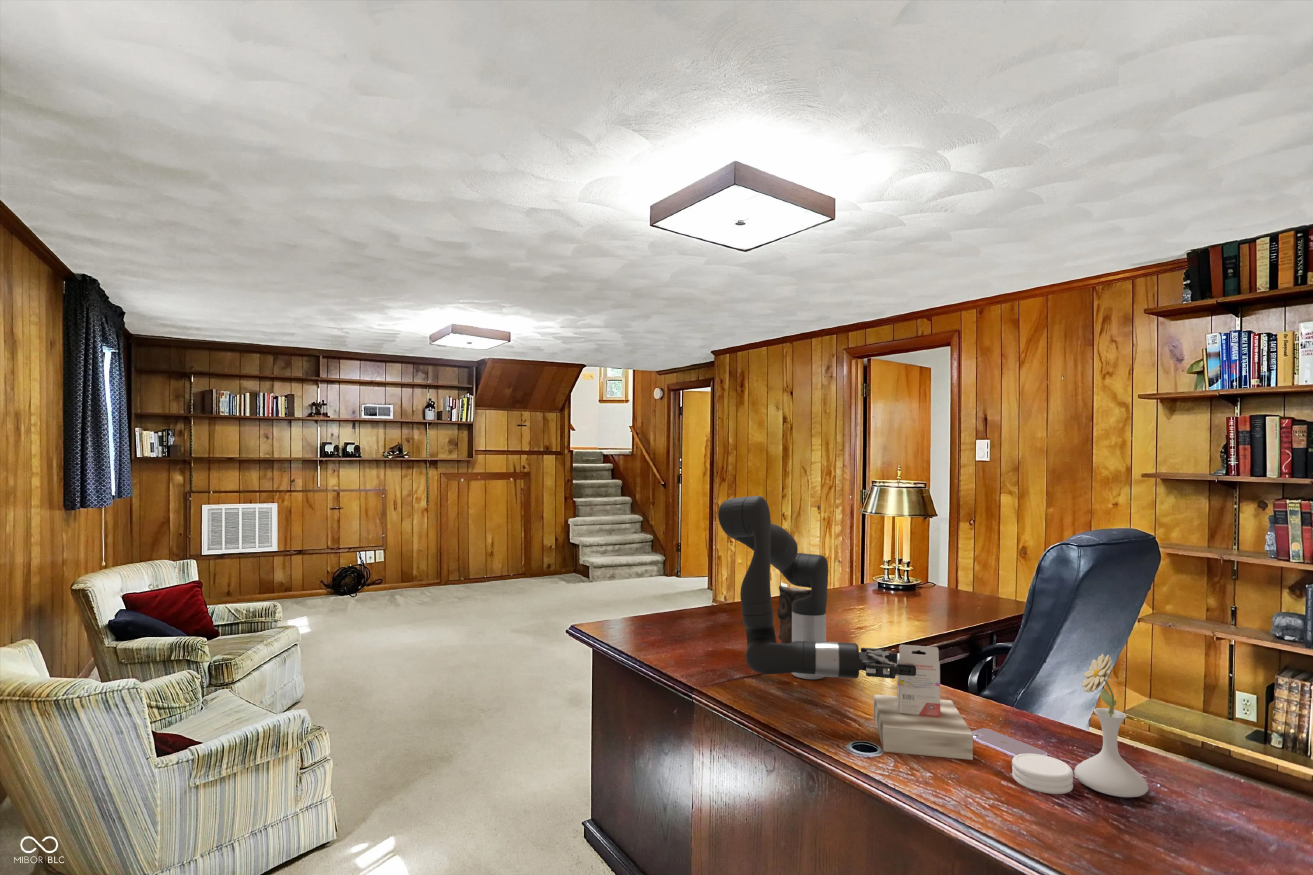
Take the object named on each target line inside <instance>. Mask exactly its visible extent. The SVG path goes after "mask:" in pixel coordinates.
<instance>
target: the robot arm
mask: <svg viewBox="0 0 1313 875" xmlns="http://www.w3.org/2000/svg"><path fill="white" fill-rule="evenodd" d="M717 519H718V522H719V525H720V527H721V529H722V531H723V532H724V533H725V534H726V535H727V537H730V538H732V539H733V540H735V541H737V542H739V543H741V544H743V545H745V546H746V547H748V548H749V549H750V550H752V551H753V555H752V557H751V561H750V563H749V566H748V568H747V570H746V573H745V575H744V577H743V579H742V582H741V586H740V595H739V596H740V606H741V614H742V621H743V625H744V626H745V632H746V645H747V646H746V652H745V661H746V664H747V666H748V667H749V668H750V669H751V670H752V671H754V672H756V673H759V674H762V675H779V674H780V675H781V674H783V675H784V674H791V675H793V676H794V677H797V678H801V679H805V680H820V679H824V678H825V677H829V678H842V679H843V678H844V679H854V680H855V679H858V678H859V676H860V671H863V672H864V671H865V676H866V677H872V678H883V679H892V680H893V679H896V677H897V674H898V675H906V676H915V675H916V667H915V665H910V664H897V654H898V653H899V652H892V651H890V650H888V648H874V647H860V648H859V646H858V644H857V643H856V642H841V641H827V603H828V585H829V584H828V583H829V564H828V563H829V562H828V559H827V557H825V555H821V554H813V553H812V554H811V553H802V552H799V550H798V549H799V547H798V544H797V541H796V539H795V538H794V537H793V535H792V534H790V533H789V532H788V531H787V530H786V529H784V528H783V527H781V526H780V525H778V524H775V523H773V522H772V520H771V511H770V507H769V505H768V502H767V499H765V498H764V497H763V496H761V495H750V496H741V497H732V498H729V499H726V500H724V501H723V502H722V503H721V504H720V505H719V508H718V511H717ZM771 565H772V567H774V568H775V569H777V570H778V571H779V572H780V573H781V574H782V576H783V577H784V578H785V579H786V581H788V583H790V585H793V586H795V587H802V588H808V589H810V590H811V594H810V595H809V596H807V597H804V598H800V599H796V600H794V601H793V603H792V642H791V643H788V644H786V643H782V642H778V641H777V637H776V636H777V635H776V631H775V626H774V612H773V611H774V610H773V602H772V593H771V575H770V574H771V573H770V572H771ZM859 649H860V650H859Z"/></svg>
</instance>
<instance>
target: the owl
mask: <svg viewBox="0 0 1313 875" xmlns="http://www.w3.org/2000/svg"><path fill="white" fill-rule="evenodd" d="M778 590H779V599H778V609H777V612H776V613H777V617H778V621H779V633H778V639H779V640H780V643H786V644H788V643H791V642H792V603H793V601H794V600H796V599H800V598H804V597H807V596H809V595H810V594H811V589H807V588H799V587H787V586H783V585H781V584H780V585H778Z"/></svg>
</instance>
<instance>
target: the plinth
mask: <svg viewBox="0 0 1313 875" xmlns="http://www.w3.org/2000/svg"><path fill="white" fill-rule="evenodd" d="M873 719H874V722H875V726H876V728H877V732H878V736H879V739H880V742H881V747H882V749H883V752H885V753H894V754H895V753H897V754H907V755H916V756H917V755H919V756H926V757H927V756H928V757H939V758H949V759H960V760H961V759H962V760H971V761H973V759H974V757H973V755H974V748H973V747H974V743H973V742H974V740H973V734H972V733H971V729H970V728H969V726H968V725H967V722H966V721H965V720H964V718H963V717H962V715H961V713H960V712H959V710H958V709H957V708H956V706H955V704H954V702H953V700H951V699H950V700H949V699H940V717H934V716H924V715H914V714H904V713H899V710H898V697H897V695H886V694H873Z"/></svg>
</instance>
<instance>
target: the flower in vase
mask: <svg viewBox="0 0 1313 875" xmlns="http://www.w3.org/2000/svg"><path fill="white" fill-rule="evenodd" d="M1112 663H1113V661H1112V658H1111V657H1110V655H1109V654H1107V655H1106V656H1105V655H1104V653H1101V655H1099V656H1097V659H1093V660H1092V661H1091V664H1090V666H1089V668H1088V669H1089V670H1087V671H1085V672H1084V674H1083V676H1084V677H1085V679H1084V680H1082V684H1081V688H1084V689H1083V691H1084V693H1094V692H1095V691H1097V690H1099V688H1100V687H1102V685H1103V684H1104V683H1105V684H1106V686H1107V688H1108V690H1109V691H1108V690H1107V689H1106V688H1103V689H1102V691H1101V692H1100V699H1101V700H1102V701H1103V702H1104V703H1105V704H1106V705H1107V706H1108V707H1109V708H1106V707H1097V708H1095V709H1093V711H1094V714H1096V716H1097V718H1098V719H1099V723H1100V727H1101V731H1102V747H1101V748H1102V749H1101V750H1100V751H1099V753H1097V754H1096V755H1094V756H1091V757H1088V758H1087V759H1085V760H1083V761H1081V762H1080V763H1079V764H1076V766H1075V768H1074V771H1073V775H1075V777H1076V779H1077V780H1078V781H1079V782H1080V783H1081V784H1083V785H1084V786H1086V787H1088V788H1090V789H1091V790H1094V791H1096V792H1098V793H1102V794H1105V795H1109V796H1113V797H1119V798H1137V797H1142V796H1143V795H1146V793H1147V792H1148V791H1149V786H1148V783H1147V781H1146V779H1144V777H1143V776H1142V774H1140V773H1139V772H1138V771H1137V770H1136V769H1134V767H1133V766H1131V765H1130V764H1129V763H1127V762H1126V761H1125V760H1124V759H1123V758H1122V757H1121V755H1120V753H1119V750H1118V749H1119V748H1118V738H1119V737H1118V736H1119V731H1120V730H1119V729H1120V726H1121V724H1122V722H1123V721H1125V719H1126V718H1127V714H1126V713H1124V712H1122V711H1120V710H1117V709H1115V706H1116V705H1117V700H1115V696H1114V692H1113V690H1112V688H1111V686H1110V684H1109V682H1108V678H1109V675H1110V673H1111V671H1112V668H1113V665H1112Z"/></svg>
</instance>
